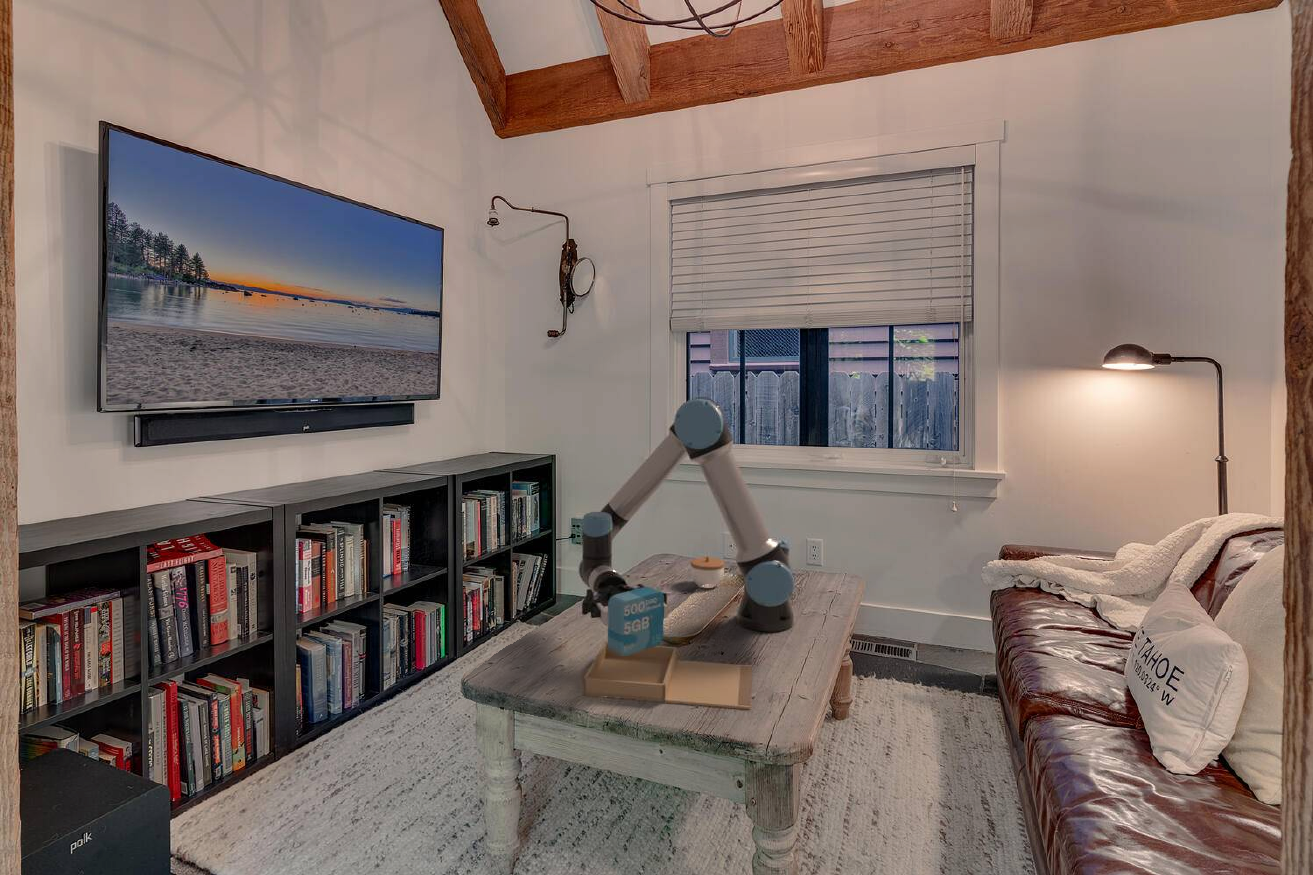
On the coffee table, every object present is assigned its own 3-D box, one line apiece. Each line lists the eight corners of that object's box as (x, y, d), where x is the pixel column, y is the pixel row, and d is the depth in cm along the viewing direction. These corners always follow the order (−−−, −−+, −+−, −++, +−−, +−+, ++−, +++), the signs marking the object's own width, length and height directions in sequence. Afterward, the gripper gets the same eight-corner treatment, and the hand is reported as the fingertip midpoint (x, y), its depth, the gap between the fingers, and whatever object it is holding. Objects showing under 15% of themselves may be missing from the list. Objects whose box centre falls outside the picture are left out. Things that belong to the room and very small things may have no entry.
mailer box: (751, 667, 152) (751, 652, 151) (750, 709, 133) (750, 692, 132) (604, 656, 157) (604, 642, 157) (583, 695, 138) (583, 678, 138)
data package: (620, 658, 137) (620, 601, 136) (607, 651, 140) (607, 596, 139) (663, 643, 145) (664, 590, 144) (650, 637, 148) (651, 584, 147)
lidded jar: (701, 593, 203) (701, 563, 202) (684, 583, 213) (684, 554, 212) (730, 588, 208) (731, 558, 207) (712, 578, 218) (712, 550, 217)
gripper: (655, 594, 166) (689, 625, 146) (557, 606, 157) (580, 640, 138) (655, 565, 165) (690, 592, 146) (557, 575, 157) (580, 605, 137)
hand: (637, 615), depth 142 cm, fingers closed on data package, 13 cm apart
